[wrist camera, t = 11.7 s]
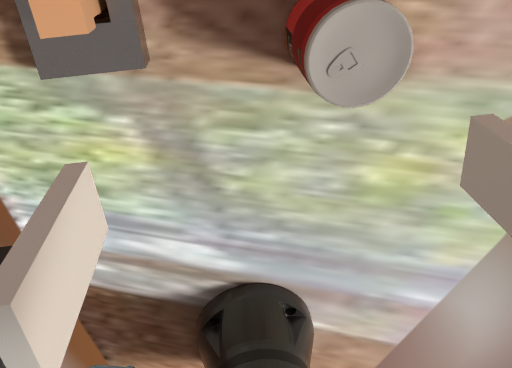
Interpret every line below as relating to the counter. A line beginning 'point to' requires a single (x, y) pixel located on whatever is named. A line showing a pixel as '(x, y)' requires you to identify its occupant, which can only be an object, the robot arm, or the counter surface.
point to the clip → (65, 16)
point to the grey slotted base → (90, 43)
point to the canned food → (349, 48)
